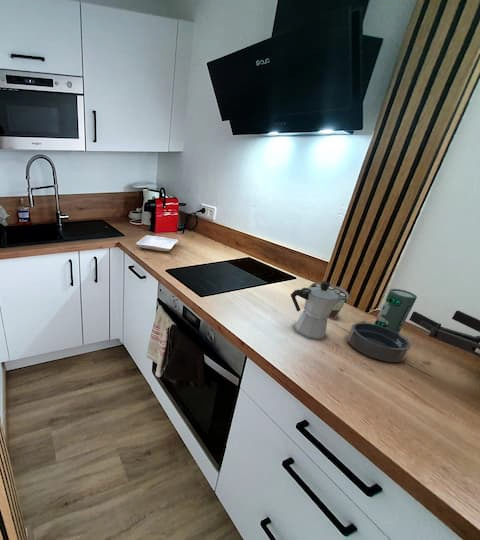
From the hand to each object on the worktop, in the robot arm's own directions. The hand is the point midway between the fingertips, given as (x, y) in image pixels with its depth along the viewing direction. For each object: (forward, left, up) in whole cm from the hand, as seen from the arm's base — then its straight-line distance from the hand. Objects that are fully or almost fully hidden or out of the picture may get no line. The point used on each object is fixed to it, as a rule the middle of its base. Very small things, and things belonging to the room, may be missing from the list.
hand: (433, 315), depth 81 cm
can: (+5, -8, -13) cm, 16 cm away
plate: (+100, -57, -13) cm, 116 cm away
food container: (+21, -15, -13) cm, 29 cm away
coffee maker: (+29, +3, -13) cm, 32 cm away
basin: (+11, +4, -13) cm, 17 cm away
